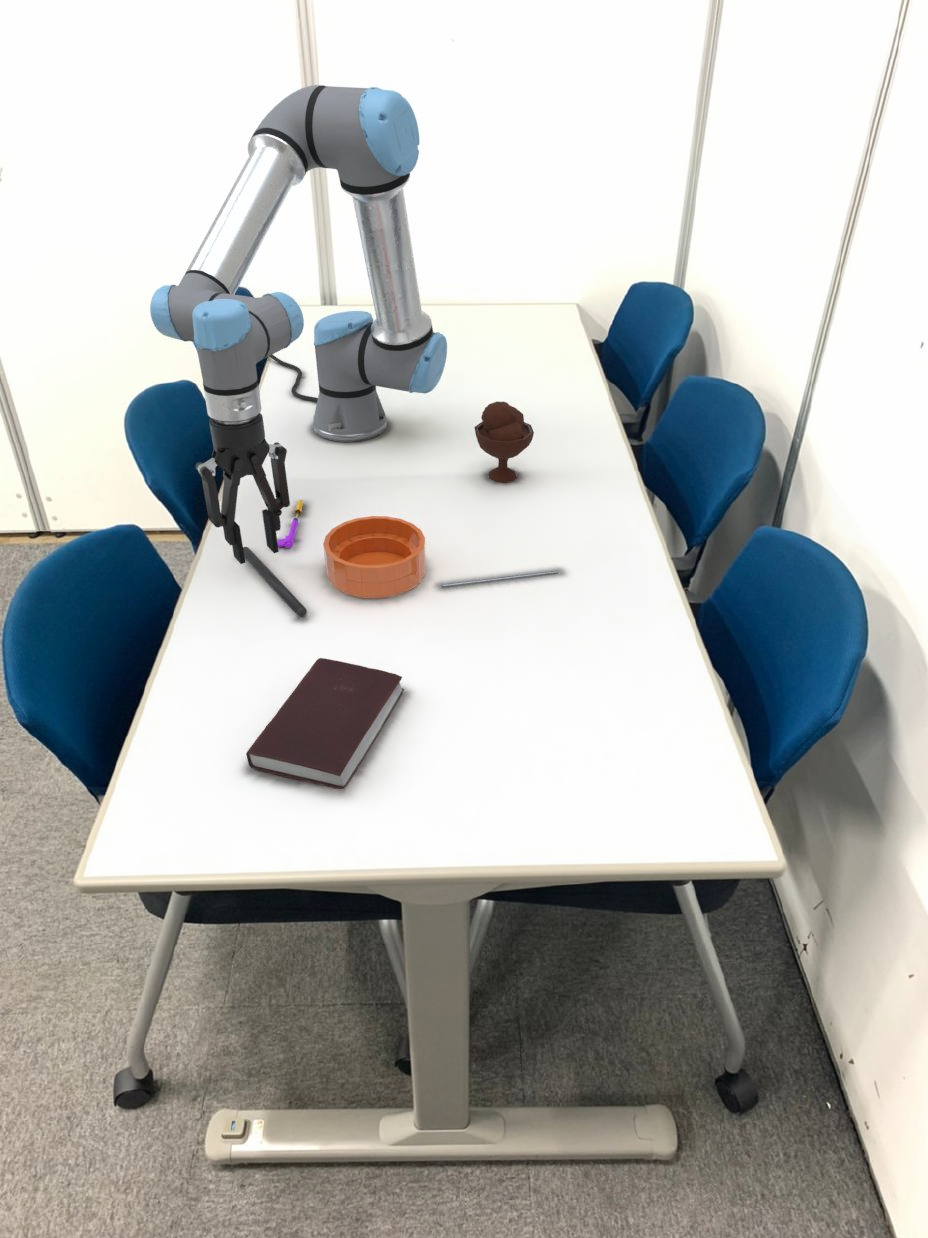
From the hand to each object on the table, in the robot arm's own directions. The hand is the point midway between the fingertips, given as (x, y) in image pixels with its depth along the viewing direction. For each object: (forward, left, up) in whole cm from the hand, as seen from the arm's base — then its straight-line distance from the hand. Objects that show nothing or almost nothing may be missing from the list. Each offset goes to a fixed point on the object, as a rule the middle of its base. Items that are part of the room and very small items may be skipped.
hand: (256, 553), depth 141 cm
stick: (+5, 0, -2) cm, 6 cm away
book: (+39, -8, -3) cm, 40 cm away
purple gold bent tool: (-10, +11, -3) cm, 15 cm away
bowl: (+11, +15, -3) cm, 19 cm away
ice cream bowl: (-5, +52, -3) cm, 52 cm away
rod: (+24, +30, -3) cm, 39 cm away
